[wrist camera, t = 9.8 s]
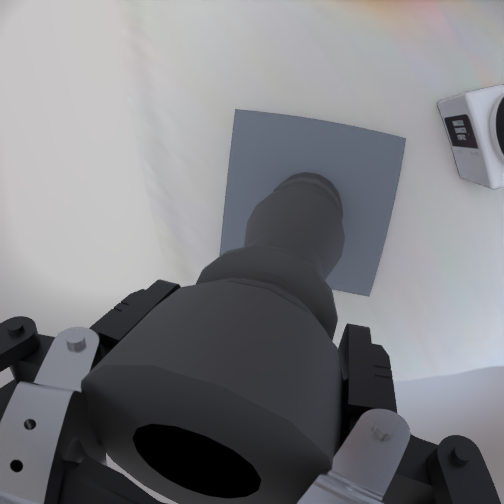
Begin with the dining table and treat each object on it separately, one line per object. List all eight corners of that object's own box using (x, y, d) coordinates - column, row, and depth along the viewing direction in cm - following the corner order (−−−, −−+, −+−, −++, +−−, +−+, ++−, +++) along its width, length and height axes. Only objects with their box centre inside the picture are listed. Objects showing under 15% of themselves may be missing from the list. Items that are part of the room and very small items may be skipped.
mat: (403, 138, 26) (405, 138, 25) (368, 292, 32) (369, 296, 31) (238, 110, 29) (235, 109, 28) (221, 261, 35) (219, 264, 34)
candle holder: (327, 249, 29) (281, 538, 6) (264, 226, 30) (84, 456, 7) (351, 186, 26) (421, 432, 4) (284, 162, 27) (54, 287, 4)
